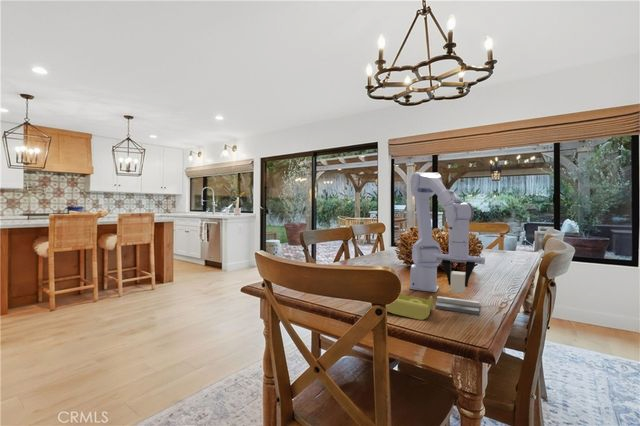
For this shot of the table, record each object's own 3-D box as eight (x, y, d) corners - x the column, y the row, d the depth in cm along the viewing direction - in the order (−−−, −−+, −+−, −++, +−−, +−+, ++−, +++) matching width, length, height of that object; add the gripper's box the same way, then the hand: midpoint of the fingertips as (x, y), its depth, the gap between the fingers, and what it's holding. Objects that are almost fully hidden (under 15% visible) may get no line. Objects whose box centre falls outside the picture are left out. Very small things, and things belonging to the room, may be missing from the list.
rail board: (435, 308, 95) (435, 301, 95) (439, 299, 104) (439, 293, 104) (479, 314, 90) (479, 307, 90) (479, 304, 99) (479, 298, 99)
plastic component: (434, 301, 95) (432, 294, 87) (431, 325, 93) (428, 321, 84) (371, 288, 104) (364, 281, 96) (367, 310, 102) (359, 305, 93)
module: (450, 291, 96) (450, 273, 96) (451, 288, 100) (452, 270, 100) (464, 293, 94) (464, 275, 94) (465, 289, 98) (465, 272, 98)
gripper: (432, 241, 96) (431, 285, 97) (485, 244, 90) (484, 291, 90) (435, 239, 103) (434, 280, 103) (485, 242, 96) (484, 285, 96)
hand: (458, 285), depth 97 cm, fingers closed on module, 4 cm apart
